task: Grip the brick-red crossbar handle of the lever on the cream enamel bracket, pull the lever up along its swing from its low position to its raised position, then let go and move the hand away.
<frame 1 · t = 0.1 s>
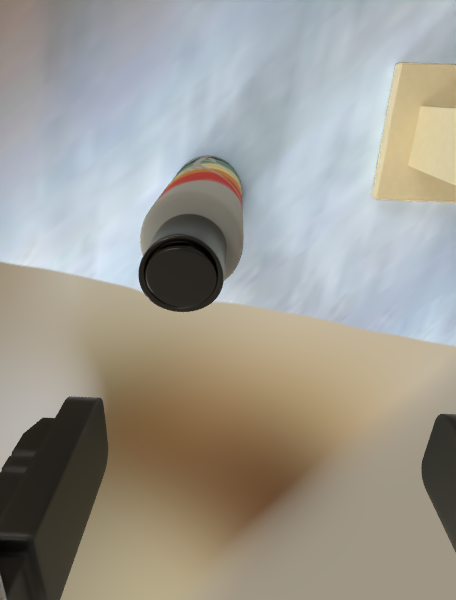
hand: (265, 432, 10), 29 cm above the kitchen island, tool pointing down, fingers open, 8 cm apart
lotion bottle: (208, 188, 37), on the kitchen island
bracket: (438, 136, 34), on the kitchen island
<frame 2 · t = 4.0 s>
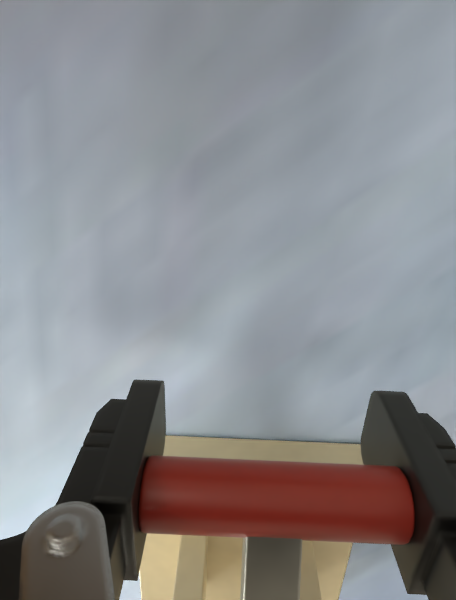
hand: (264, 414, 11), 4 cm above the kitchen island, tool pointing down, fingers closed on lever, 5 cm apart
bracket: (242, 522, 19), on the kitchen island
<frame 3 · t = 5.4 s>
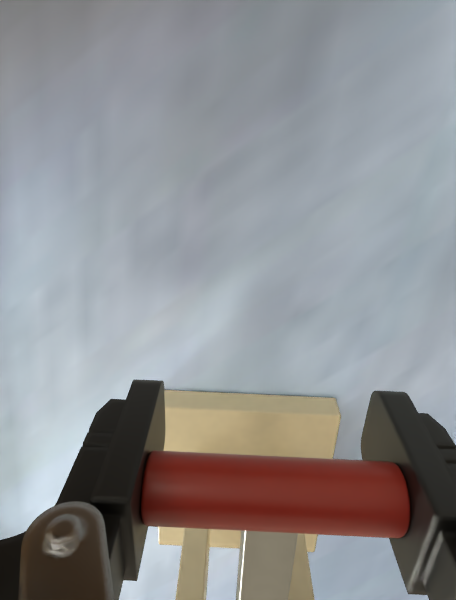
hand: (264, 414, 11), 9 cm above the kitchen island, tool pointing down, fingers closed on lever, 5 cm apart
bracket: (241, 465, 24), on the kitchen island
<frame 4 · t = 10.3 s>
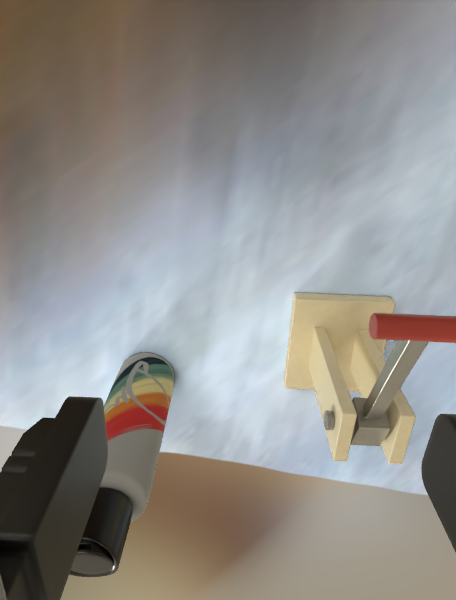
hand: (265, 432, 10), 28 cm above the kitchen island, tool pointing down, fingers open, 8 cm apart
lotion bottle: (148, 373, 44), on the kitchen island
lever: (387, 384, 28), point 13 cm above the kitchen island, hinge at 21.4°
bracket: (334, 340, 42), on the kitchen island
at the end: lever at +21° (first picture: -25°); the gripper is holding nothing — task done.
